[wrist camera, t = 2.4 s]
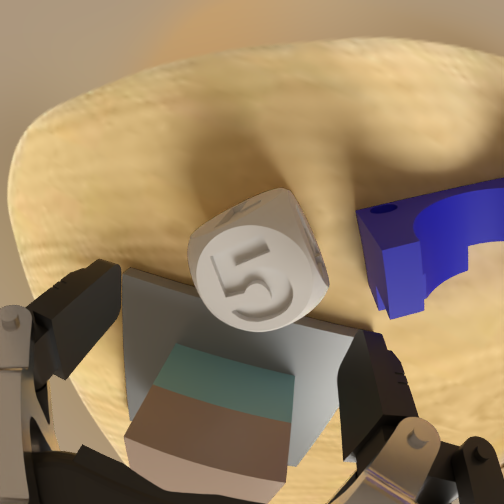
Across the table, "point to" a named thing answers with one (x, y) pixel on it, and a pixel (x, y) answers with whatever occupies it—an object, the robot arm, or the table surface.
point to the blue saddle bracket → (426, 241)
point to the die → (258, 263)
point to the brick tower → (221, 392)
